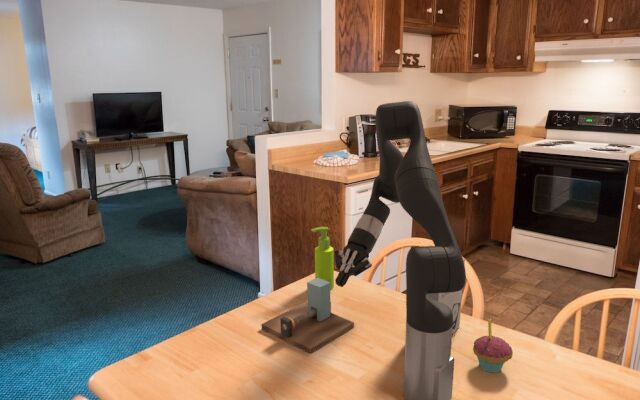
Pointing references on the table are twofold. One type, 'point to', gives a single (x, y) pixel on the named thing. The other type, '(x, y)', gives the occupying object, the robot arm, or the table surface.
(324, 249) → the soap dispenser
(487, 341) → the cupcake
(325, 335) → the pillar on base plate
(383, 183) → the robot arm
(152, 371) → the table surface
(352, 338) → the table surface
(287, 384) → the table surface
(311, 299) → the tall pale blue block
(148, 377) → the table surface
